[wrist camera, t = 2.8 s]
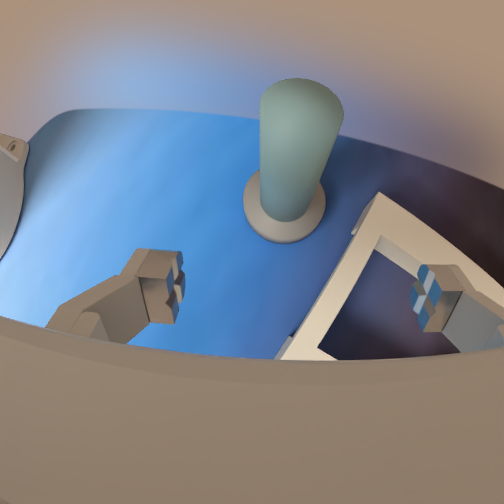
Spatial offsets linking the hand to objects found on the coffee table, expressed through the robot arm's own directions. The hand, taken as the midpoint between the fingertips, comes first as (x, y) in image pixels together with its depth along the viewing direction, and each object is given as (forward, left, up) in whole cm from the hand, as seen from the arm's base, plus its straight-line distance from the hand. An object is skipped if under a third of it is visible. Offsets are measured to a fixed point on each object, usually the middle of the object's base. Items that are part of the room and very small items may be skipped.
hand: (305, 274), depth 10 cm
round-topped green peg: (-4, +6, -12) cm, 14 cm away
